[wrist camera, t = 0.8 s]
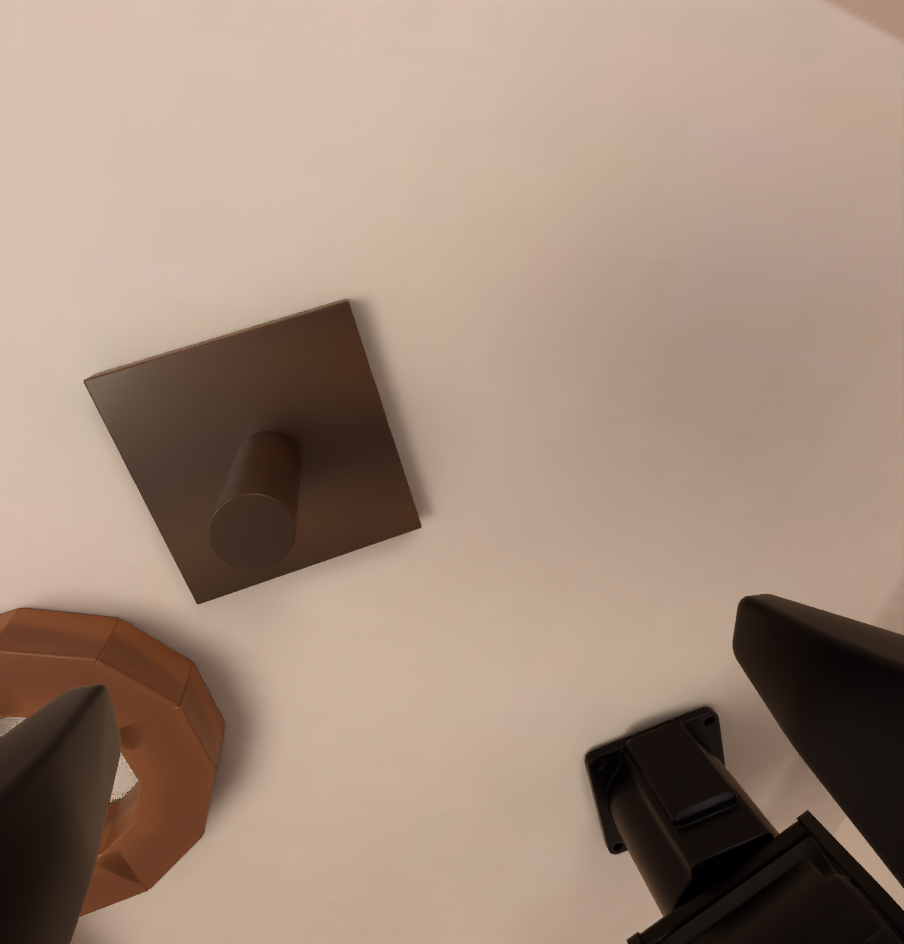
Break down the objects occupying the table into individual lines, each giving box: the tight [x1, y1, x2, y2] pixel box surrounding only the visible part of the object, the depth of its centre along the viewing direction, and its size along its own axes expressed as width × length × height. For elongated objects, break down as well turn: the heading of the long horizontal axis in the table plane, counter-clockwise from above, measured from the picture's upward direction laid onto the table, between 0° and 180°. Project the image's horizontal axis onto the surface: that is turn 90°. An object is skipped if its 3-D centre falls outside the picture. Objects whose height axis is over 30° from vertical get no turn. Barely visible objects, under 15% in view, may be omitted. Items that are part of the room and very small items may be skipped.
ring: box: [0, 608, 225, 917], centre depth 21 cm, size 11×11×2 cm
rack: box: [84, 299, 421, 604], centre depth 17 cm, size 8×8×6 cm
